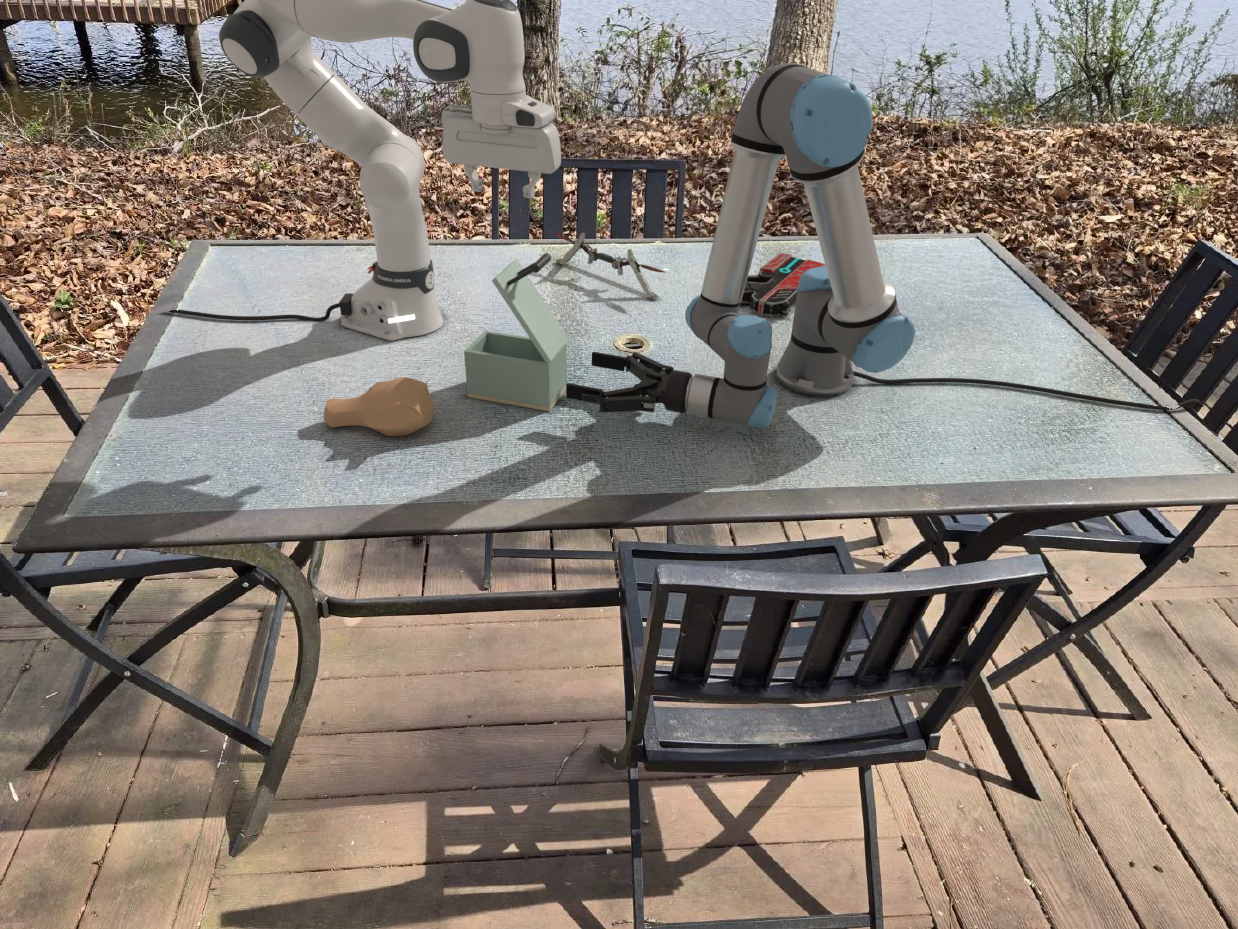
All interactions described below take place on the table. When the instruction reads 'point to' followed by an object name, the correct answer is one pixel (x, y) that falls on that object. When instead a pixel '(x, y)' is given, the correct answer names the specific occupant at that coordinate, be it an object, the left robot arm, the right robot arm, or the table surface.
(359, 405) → the squash
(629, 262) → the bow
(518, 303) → the lid
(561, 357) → the chest
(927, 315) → the table surface
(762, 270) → the gun
